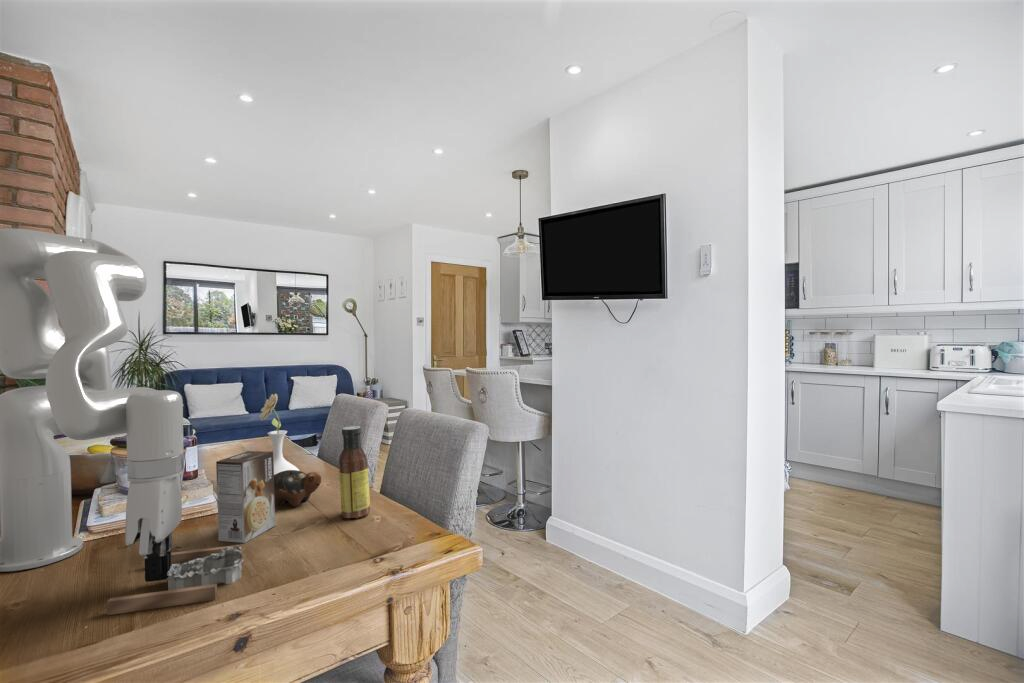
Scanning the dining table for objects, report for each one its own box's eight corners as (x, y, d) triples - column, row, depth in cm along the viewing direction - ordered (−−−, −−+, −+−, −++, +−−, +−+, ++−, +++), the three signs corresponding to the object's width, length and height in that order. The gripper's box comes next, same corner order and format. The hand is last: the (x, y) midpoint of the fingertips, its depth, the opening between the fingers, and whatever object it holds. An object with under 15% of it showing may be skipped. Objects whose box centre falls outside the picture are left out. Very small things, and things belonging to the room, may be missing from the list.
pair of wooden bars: (107, 615, 72) (106, 601, 72) (152, 566, 88) (151, 555, 88) (215, 599, 76) (215, 586, 76) (240, 555, 92) (240, 544, 92)
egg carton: (244, 565, 88) (244, 542, 88) (241, 584, 81) (240, 560, 81) (173, 577, 84) (172, 553, 84) (163, 599, 77) (162, 573, 77)
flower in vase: (259, 477, 142) (257, 390, 142) (302, 473, 145) (301, 388, 145) (250, 491, 130) (248, 395, 129) (297, 487, 133) (295, 393, 133)
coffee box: (250, 524, 107) (248, 450, 107) (276, 526, 106) (274, 451, 106) (216, 541, 98) (215, 460, 98) (245, 544, 97) (243, 462, 97)
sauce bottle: (373, 509, 115) (371, 424, 115) (366, 519, 109) (364, 429, 108) (344, 510, 115) (343, 424, 114) (335, 520, 109) (334, 430, 108)
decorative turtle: (313, 510, 115) (313, 476, 115) (249, 510, 115) (248, 476, 115) (329, 496, 125) (329, 465, 125) (270, 497, 125) (269, 465, 125)
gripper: (149, 457, 87) (151, 561, 87) (105, 482, 73) (108, 606, 73) (197, 454, 89) (199, 555, 89) (164, 477, 75) (167, 598, 75)
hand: (158, 578), depth 81 cm, fingers closed
